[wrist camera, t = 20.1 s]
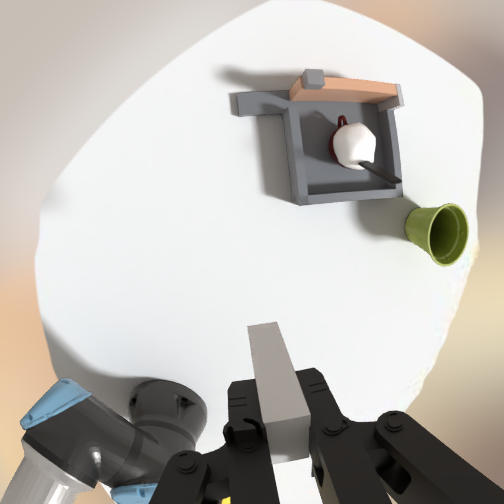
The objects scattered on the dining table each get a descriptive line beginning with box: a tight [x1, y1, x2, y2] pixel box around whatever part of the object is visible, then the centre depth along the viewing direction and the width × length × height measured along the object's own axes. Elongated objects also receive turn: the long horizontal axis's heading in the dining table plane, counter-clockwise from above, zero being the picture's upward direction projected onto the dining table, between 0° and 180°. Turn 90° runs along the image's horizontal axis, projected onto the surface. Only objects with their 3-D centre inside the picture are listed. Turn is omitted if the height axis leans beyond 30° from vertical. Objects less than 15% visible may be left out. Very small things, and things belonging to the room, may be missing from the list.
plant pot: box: [405, 203, 469, 267], centre depth 37 cm, size 9×9×9 cm
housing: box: [237, 84, 404, 206], centre depth 34 cm, size 22×16×7 cm
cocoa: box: [328, 115, 402, 185], centre depth 31 cm, size 10×6×12 cm, turn 174°
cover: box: [289, 69, 397, 104], centre depth 31 cm, size 14×2×8 cm, turn 97°
